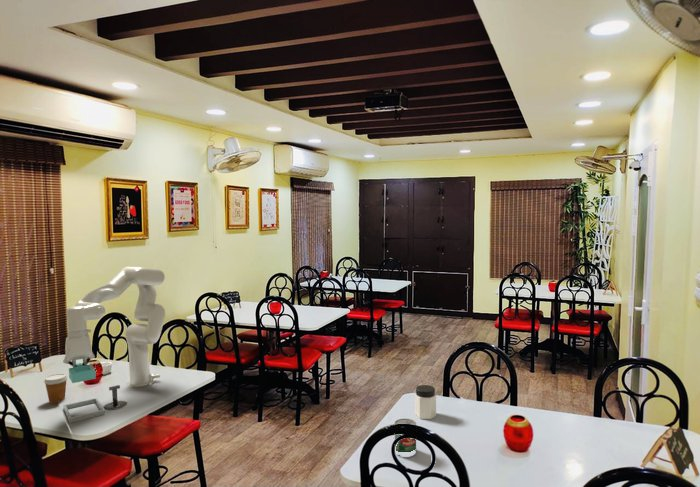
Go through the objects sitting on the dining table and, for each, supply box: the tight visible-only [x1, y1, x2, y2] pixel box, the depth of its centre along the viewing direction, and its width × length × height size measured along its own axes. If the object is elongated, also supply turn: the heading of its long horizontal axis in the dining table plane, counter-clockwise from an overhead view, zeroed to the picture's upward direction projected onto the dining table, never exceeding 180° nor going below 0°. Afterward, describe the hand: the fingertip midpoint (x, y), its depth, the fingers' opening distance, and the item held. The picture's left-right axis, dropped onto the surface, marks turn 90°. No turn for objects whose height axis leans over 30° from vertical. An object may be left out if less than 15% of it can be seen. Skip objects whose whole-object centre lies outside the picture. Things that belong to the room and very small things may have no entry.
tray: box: [63, 397, 106, 424], centre depth 218 cm, size 14×18×3 cm
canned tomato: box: [393, 418, 417, 452], centre depth 181 cm, size 8×8×11 cm
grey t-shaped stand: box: [103, 384, 128, 411], centre depth 225 cm, size 10×10×10 cm
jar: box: [414, 384, 437, 420], centre depth 211 cm, size 9×8×12 cm
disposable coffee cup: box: [43, 373, 68, 405], centre depth 233 cm, size 10×10×12 cm
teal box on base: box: [68, 362, 97, 384], centre depth 218 cm, size 9×14×4 cm, turn 37°
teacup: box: [100, 361, 113, 376], centre depth 271 cm, size 10×8×5 cm
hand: (80, 373), depth 221 cm, fingers closed on teal box on base, 2 cm apart
